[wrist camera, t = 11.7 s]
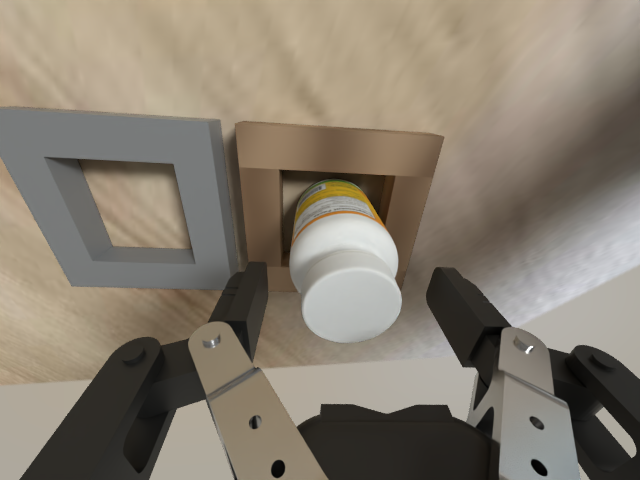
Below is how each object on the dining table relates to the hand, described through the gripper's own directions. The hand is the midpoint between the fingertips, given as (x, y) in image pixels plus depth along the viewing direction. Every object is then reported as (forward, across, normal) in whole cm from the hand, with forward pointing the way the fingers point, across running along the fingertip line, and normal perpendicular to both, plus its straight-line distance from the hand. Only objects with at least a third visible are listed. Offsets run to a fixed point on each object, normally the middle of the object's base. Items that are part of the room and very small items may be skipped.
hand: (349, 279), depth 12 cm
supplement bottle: (+8, 0, 0) cm, 8 cm away
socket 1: (+7, +14, 0) cm, 15 cm away
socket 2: (+7, 0, 0) cm, 7 cm away
